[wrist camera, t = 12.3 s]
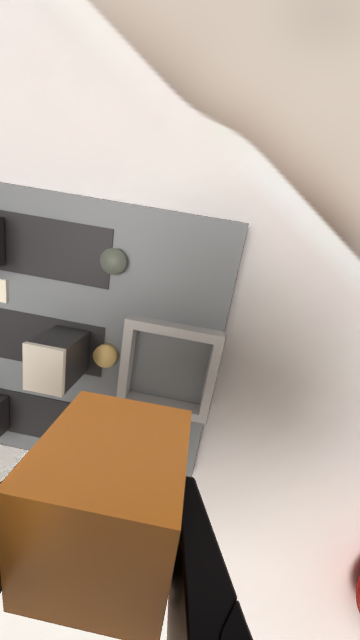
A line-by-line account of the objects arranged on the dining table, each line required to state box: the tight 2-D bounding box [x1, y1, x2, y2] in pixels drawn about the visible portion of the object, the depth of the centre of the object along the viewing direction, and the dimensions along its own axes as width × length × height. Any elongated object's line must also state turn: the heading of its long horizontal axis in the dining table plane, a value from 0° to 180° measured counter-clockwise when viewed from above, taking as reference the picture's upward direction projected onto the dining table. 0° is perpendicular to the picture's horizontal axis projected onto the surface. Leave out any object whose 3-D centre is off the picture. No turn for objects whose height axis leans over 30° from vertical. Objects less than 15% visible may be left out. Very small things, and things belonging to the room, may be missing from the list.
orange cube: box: [0, 391, 192, 640], centre depth 8 cm, size 4×4×4 cm
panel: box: [0, 182, 249, 477], centre depth 19 cm, size 20×20×3 cm
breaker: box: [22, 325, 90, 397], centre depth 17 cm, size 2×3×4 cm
